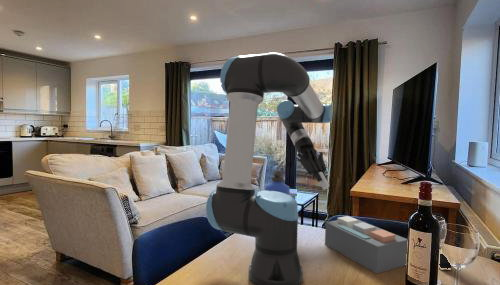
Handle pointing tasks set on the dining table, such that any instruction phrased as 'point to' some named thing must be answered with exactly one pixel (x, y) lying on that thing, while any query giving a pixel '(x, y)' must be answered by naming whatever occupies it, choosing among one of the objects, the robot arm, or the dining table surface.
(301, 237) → the dining table surface
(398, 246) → the grey boxy piece
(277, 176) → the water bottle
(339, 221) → the ivory key
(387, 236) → the terracotta key
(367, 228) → the grey key
